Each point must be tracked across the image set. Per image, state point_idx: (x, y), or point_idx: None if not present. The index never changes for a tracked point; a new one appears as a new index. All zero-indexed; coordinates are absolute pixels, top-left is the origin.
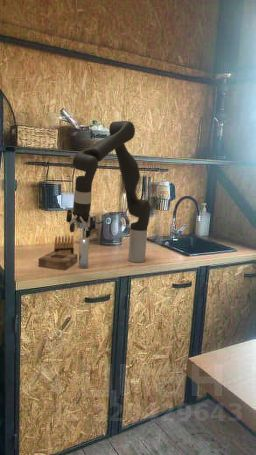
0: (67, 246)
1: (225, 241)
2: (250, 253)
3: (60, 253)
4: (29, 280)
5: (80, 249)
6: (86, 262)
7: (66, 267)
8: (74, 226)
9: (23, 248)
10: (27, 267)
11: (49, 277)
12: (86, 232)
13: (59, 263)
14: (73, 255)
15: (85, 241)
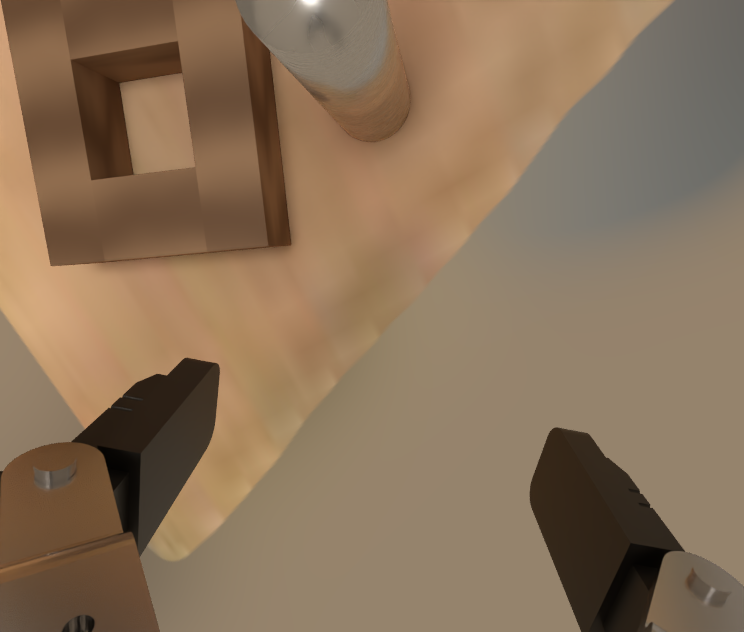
0: None
1: None
2: None
3: (91, 8)
4: (212, 528)
5: (314, 91)
6: (401, 105)
7: (283, 230)
8: (173, 421)
9: None
10: (55, 311)
11: (279, 436)
12: (582, 592)
13: (223, 250)
14: (218, 1)
15: (350, 40)
